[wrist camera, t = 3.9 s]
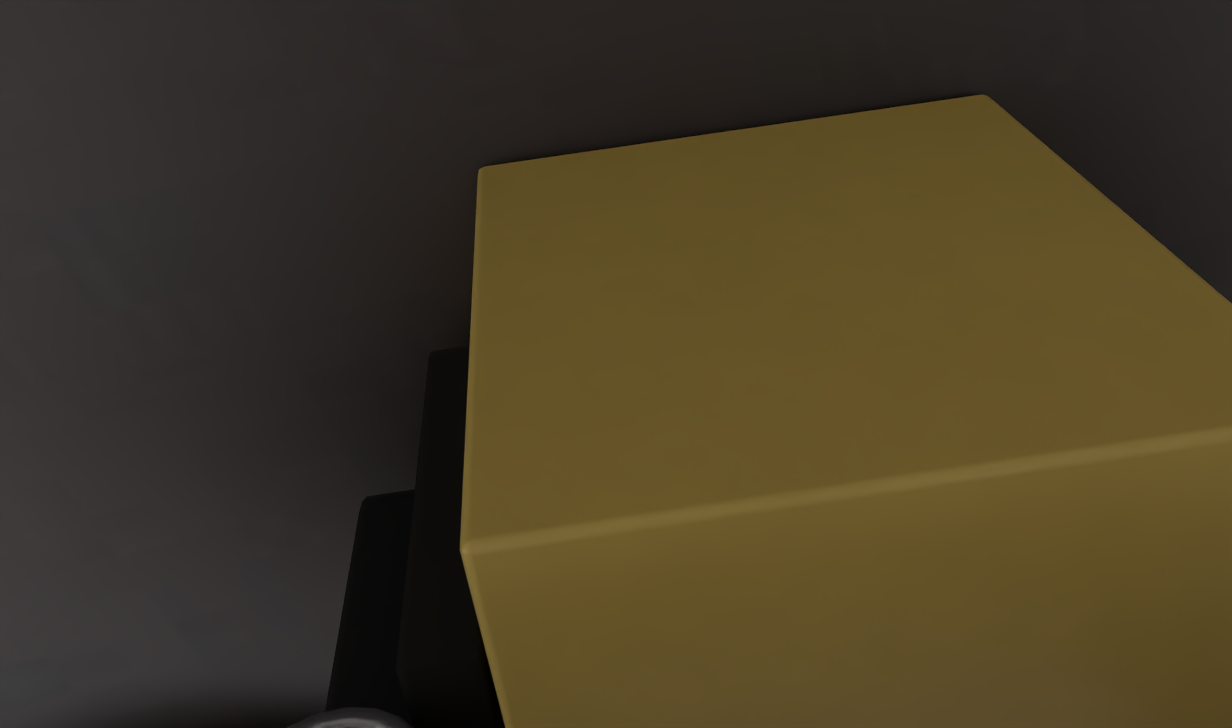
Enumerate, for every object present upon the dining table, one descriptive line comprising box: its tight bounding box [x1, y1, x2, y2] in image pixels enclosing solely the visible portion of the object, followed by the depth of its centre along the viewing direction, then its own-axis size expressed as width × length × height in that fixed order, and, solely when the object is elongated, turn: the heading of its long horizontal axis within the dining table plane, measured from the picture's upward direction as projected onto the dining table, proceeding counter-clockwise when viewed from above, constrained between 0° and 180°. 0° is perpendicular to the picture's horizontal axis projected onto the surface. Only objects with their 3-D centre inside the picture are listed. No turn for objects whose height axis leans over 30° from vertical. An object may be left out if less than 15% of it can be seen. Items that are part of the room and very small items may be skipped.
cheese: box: [460, 94, 1232, 728], centre depth 9 cm, size 6×4×5 cm
